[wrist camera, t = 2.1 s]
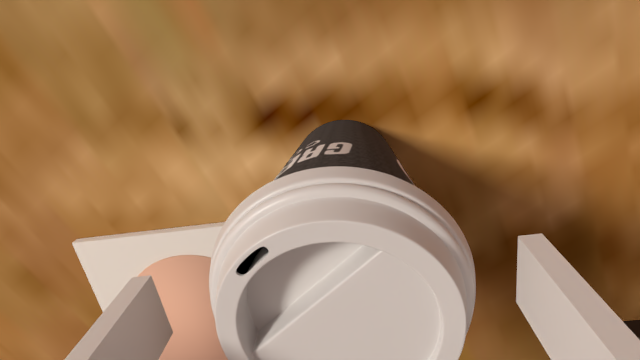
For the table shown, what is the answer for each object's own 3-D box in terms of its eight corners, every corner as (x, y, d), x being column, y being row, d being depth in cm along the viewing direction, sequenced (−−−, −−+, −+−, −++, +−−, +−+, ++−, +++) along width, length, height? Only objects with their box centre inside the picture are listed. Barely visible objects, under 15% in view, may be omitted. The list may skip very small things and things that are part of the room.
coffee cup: (387, 70, 24) (439, 140, 10) (436, 203, 27) (529, 399, 13) (248, 130, 26) (130, 257, 12) (309, 247, 29) (270, 458, 15)
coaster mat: (280, 215, 28) (278, 220, 27) (317, 380, 34) (316, 388, 33) (76, 239, 30) (70, 244, 29) (144, 390, 36) (140, 398, 35)
